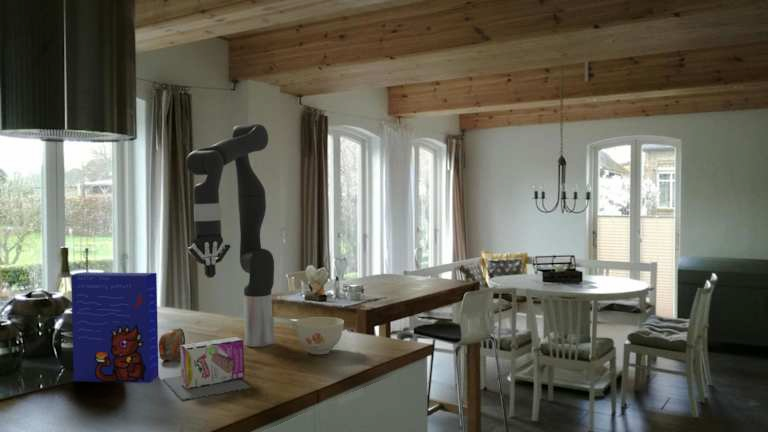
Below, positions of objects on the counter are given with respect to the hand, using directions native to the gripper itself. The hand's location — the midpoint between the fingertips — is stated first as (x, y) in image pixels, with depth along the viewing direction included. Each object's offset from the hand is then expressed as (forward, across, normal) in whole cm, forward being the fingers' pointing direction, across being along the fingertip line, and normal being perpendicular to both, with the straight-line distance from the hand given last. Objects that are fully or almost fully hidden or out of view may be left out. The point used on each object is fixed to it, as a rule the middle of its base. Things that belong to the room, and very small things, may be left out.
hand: (210, 277), depth 183 cm
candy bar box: (+21, -3, +15) cm, 26 cm away
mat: (+27, +8, +14) cm, 31 cm away
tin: (+28, +6, -20) cm, 35 cm away
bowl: (+29, -34, +2) cm, 45 cm away
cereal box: (+27, +26, -6) cm, 38 cm away
